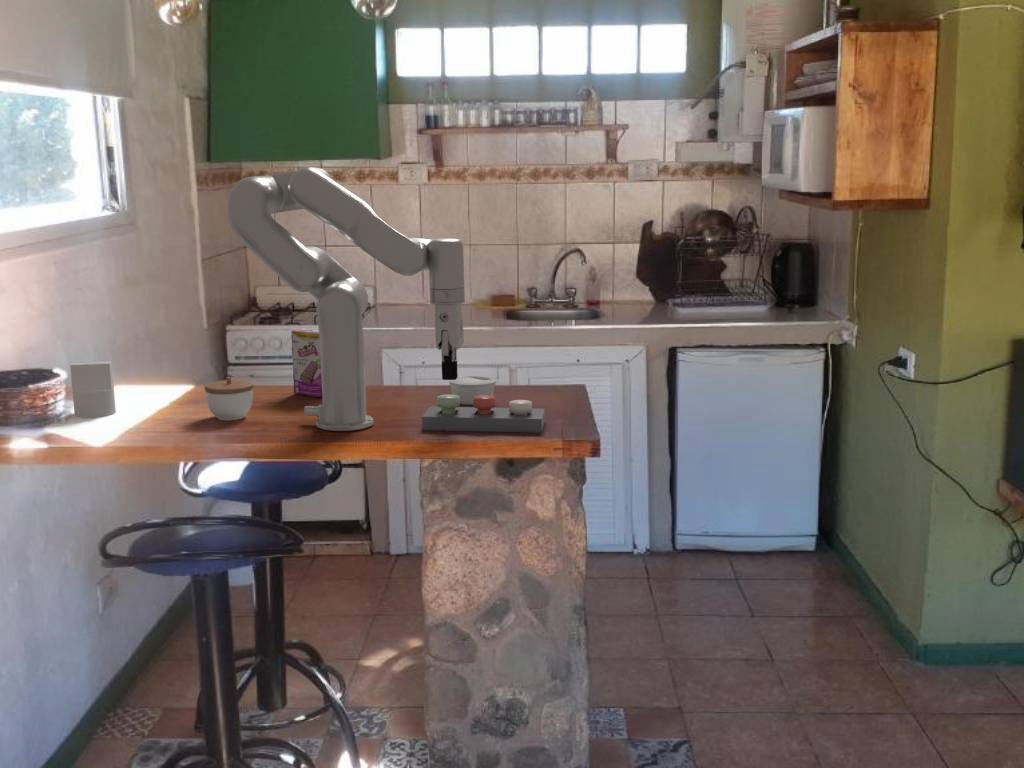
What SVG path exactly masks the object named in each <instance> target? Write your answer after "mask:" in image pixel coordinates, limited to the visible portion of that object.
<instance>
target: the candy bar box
mask: <svg viewBox="0 0 1024 768" xmlns="http://www.w3.org/2000/svg"><path fill="white" fill-rule="evenodd" d="M290 331H291V333H290V334H291V335H290V336H291V351H292V352H291V356H292V357H291V358H292V372H293V373H292V377H293V393H294V395H301V396H306V397H312V398H319V399H322V380H321V357H320V339H319V329H315V328H314V329H313V328H305V327H303V328H298V329H293V330H290Z"/></svg>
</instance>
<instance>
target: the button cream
mask: <svg viewBox="0 0 1024 768" xmlns="http://www.w3.org/2000/svg"><path fill="white" fill-rule="evenodd" d="M508 406H509V407H508V408H509V412H510V413H514V415H524V416H527V413H531V412H532V408H533V402H532V400H527V399H516V400H515V399H514V400H510V401H509V402H508Z"/></svg>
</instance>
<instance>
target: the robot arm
mask: <svg viewBox="0 0 1024 768" xmlns="http://www.w3.org/2000/svg"><path fill="white" fill-rule="evenodd" d="M296 210H297V211H298V210H306V211H307V212H308V213H310V214H311V215H313V216H314V217H316V218H318V219H319V220H320V221H322V222H324V223H325V224H326V225H328V226H329V227H331V228H332V229H334V230H335V231H336V232H338V233H340V234H341V235H343V236H344V237H345V238H346V239H348V241H350V242H351V243H353V244H354V245H356V246H358V248H360V249H361V250H362V251H363V252H365V253H366V254H368V255H369V256H370V257H372V258H373V259H375V260H376V261H378V262H379V263H381V264H382V265H384V266H385V267H386V268H388V269H389V270H392V271H393V272H394V273H396V274H397V275H400V276H403V277H411V276H415V275H417V274H419V273H420V272H423V271H428V275H429V276H428V279H429V280H428V281H429V304H431V305H434V320H435V321H434V325H435V326H434V327H435V328H434V329H435V330H434V331H435V333H434V334H435V345H436V349H437V350H439V351H440V352H441V353H440V354H441V379H442V380H443V381H450V380H456V379H457V377H459V376H458V359H457V358H458V357H457V354H458V353H457V351H458V350H459V349H460V348H462V345H463V344H464V343H465V336H464V335H465V334H464V321H463V320H464V319H463V318H464V317H463V309H462V304H465V302H466V300H465V299H466V298H465V295H466V294H465V291H466V290H465V265H464V263H465V262H464V261H465V260H464V259H465V258H464V243H463V242H462V240H461V239H459V238H453V237H452V238H448V237H446V238H435V239H434V238H433V239H429V238H419V237H407V236H406V235H404V234H402V233H401V232H399V231H397V230H396V229H394V228H393V227H392V226H390V225H389V224H387V223H386V222H385V221H384V220H382V219H381V218H380V217H379V216H378V215H377V214H376V212H375V211H374V210H373V208H372V206H371V205H369V204H368V202H366V201H365V200H364V199H362V198H360V197H358V195H356V194H354V193H352V191H350V190H348V189H347V188H345V187H344V186H342V185H341V184H339V183H338V182H336V181H335V180H334V179H333V177H332V176H331V175H330V174H329V173H328V172H327V171H326V170H325V169H322V168H320V167H317V166H316V167H315V166H310V167H309V166H305V167H302V168H300V169H298V170H294V171H293V170H292V171H287V172H280V173H273V174H266V175H252V176H247V177H244V178H242V179H240V180H238V182H236V183H235V185H234V186H233V187H232V189H231V191H230V194H229V197H228V202H227V216H228V221H229V224H230V226H231V228H232V230H233V232H234V234H235V235H236V237H237V238H238V240H239V241H241V243H242V244H243V245H245V246H246V247H247V248H248V250H249V251H250V252H252V253H253V254H254V255H255V256H257V257H258V258H259V259H260V260H261V261H262V262H263V264H265V265H266V266H267V267H268V268H269V269H270V270H271V271H272V272H274V273H275V274H276V275H277V276H278V277H279V278H280V279H281V280H282V282H284V283H285V284H286V285H287V286H289V287H290V289H292V290H293V291H296V292H298V293H299V292H300V293H309V294H310V295H311V296H313V298H315V299H316V300H317V303H316V319H317V326H318V329H317V330H319V339H320V357H321V380H322V398H321V399H322V400H321V401H322V404H319V405H318V406H313V405H305V406H304V411H303V412H304V415H306V417H317V418H318V419H316V421H315V424H316V425H315V426H316V428H319V429H320V430H324V431H331V432H350V431H351V432H352V431H359V430H364V429H367V428H369V427H372V425H374V418H373V417H372V416H371V415H367V397H366V396H367V395H366V371H365V370H366V367H365V366H366V364H365V362H366V361H365V360H366V359H365V343H364V329H363V327H364V326H363V315H364V314H365V312H366V309H367V308H368V304H369V296H368V292H367V290H366V288H365V287H364V285H363V283H361V282H360V281H359V280H358V279H357V278H356V277H354V275H353V274H351V273H350V272H349V271H348V270H347V269H346V268H345V267H343V265H341V264H340V263H339V262H338V261H337V260H336V259H335V258H334V257H332V256H331V255H330V254H329V253H327V252H326V251H325V250H323V249H321V248H319V247H318V246H314V245H304V244H303V243H302V242H301V241H299V239H297V238H296V237H295V236H294V235H293V234H291V232H289V230H287V229H286V227H284V226H283V225H281V224H280V223H278V222H277V221H276V220H275V219H274V218H273V216H272V215H273V214H278V213H286V212H290V211H296Z"/></svg>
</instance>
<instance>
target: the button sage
mask: <svg viewBox="0 0 1024 768" xmlns="http://www.w3.org/2000/svg"><path fill="white" fill-rule="evenodd" d="M436 407H440V408H442V414H455V408H456V407H461V404H460V396H458V395H452V394H441V395H437V396H436Z"/></svg>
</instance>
